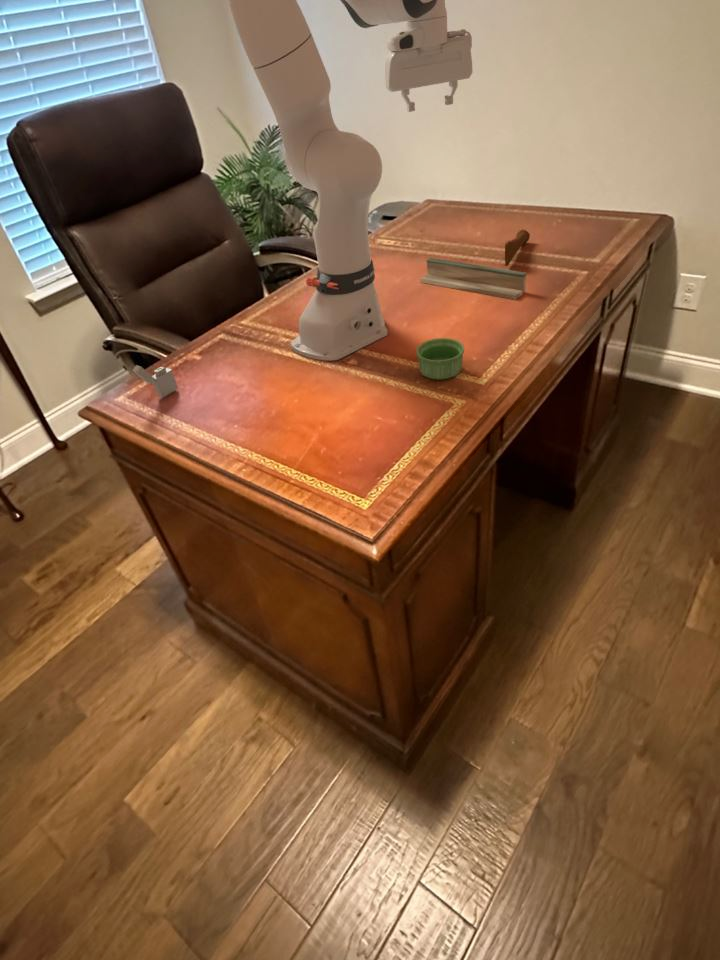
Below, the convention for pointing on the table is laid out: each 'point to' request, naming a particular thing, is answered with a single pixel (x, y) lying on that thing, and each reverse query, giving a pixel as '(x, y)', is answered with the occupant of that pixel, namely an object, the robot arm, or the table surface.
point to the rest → (475, 278)
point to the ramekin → (440, 358)
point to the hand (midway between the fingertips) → (430, 107)
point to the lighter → (158, 380)
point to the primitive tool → (515, 245)
